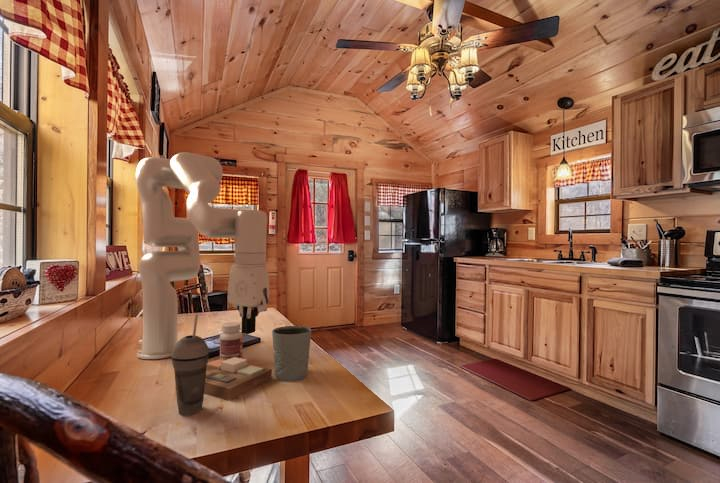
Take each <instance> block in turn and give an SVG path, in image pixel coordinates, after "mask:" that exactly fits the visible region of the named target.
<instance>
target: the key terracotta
mask: <svg viewBox="0 0 720 483" xmlns="http://www.w3.org/2000/svg"><path fill="white" fill-rule="evenodd" d="M222 361H225V360H222V359H220V358H219V359H216V360H213V361H210V362H207V366H206V367H209V368H213V369H217V370H218V369H220V368H221V362H222Z"/></svg>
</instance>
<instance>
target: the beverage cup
mask: <svg viewBox="0 0 720 483" xmlns="http://www.w3.org/2000/svg"><path fill="white" fill-rule="evenodd" d="M198 316H199V314H195V316H194V324H193V332H192V334H190V335H186V336H183V337H182V338H180V339H179V340H178V342H177V344H176V345H175V347H174V349H173V352H172V356H171V357H170V358H171V364H172V367H173V371H174V380H175V393H176V405H177V408H178V414H179V416H193V415H196V414H198V413H200V412H201V411H203V410H202V409H203V404H204V398H205V397H204V396H205V393H204V387H205V376H206V366H207V363H209V362H208V361H209V356H210V352H209V346H208V344H207V343H206V341H205V340H204V339H203V338H202V337H200V336H199V335H196V334H197V325H198V318H199V317H198ZM192 414H193V415H192Z"/></svg>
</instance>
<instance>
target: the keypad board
mask: <svg viewBox="0 0 720 483" xmlns="http://www.w3.org/2000/svg"><path fill="white" fill-rule="evenodd" d="M221 359H222V358H221ZM222 360H226V359H222ZM248 366H254V367H259V368H263V372H261V373H259V374H257V375H255V376H252V377H247V376H242V375H238V374H237V372H235V373H232V372H228V371H224V370H221V368H220V369H218V370H217V369H213V368H209V367H206V376H205V387H204V395H205V394H206V395H209V396H211V397H216V398H220V399H222V400H226V401H231V400H233V399H235V398H237V397H239V396H241V395H243V394H245V393H248V392H249V391H251V390H254V389H255V388H257V387H259V386H262V385H264V384H266V383H267V382H270V381H271V380H272V378H273V377H272V376H273V375H272V374H273V371H272V369H271V368H267V367H263V366H259V365H254V364H248V363H247V367H248Z"/></svg>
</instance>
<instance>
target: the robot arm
mask: <svg viewBox="0 0 720 483" xmlns="http://www.w3.org/2000/svg"><path fill="white" fill-rule="evenodd" d="M223 174H224V170H223V166H222V165H221V163H220V161H218V159H217V158H215V157H212V156H208V155H207V156H206V155H202V154H199V153H193V152H187V151H183V152H182V151H181V152H178V153H176V154H174V155H173V156H172V157H171V158H165V157H158V156H157V157H155V156H153V157H149V156H148V157H145V158H143V159H141V160H140V161H139V162H138V164H137V166H136V171H135V184H136V189H137V191H138V194H139V196H140V197H139V198H140V201H141V212H142V213H141V215H142V216H141V217H142V232H143V233H142V234H143V239H144V242H145V244H147V245H148V246H150V247H152V248H153V247H155V248H173V247H174V248H175V247H176V248H177V250H174V251H173V250H163V251H161V250H160V251H152V252H148V253H146V254H143V256H142V257H141V258H140V260H139V263H138V269H139V276H140V280H141V287H142V288H141V289H142V337H141V339H139V340H138V344H140V345H141V349H139V350H138V351H137V352H136V357H137V358H138V359H142V360H159V359H167V358H171V356H172V352H173V349H174V347H175V345H176V344H177V342H178V341H179V340H178V336H179V335H178V332H179V331H178V328H179V327H178V326H179V325H178V324H179V323H178V321H179V318H178V317H179V316H178V313H179V312H178V310H179V309H178V305H179V304H178V303H179V302H178V293H177V291H176V289H175V288H174V286H173V285H172V284H171V282H177V281H186V280H187V281H188V280H192V279H194V278H196V277H197V276H198V274H199V273H200V269H201V268H200V267H201V261H200V260H201V259H200V257H201V256H200V240H199V238H200V237H199V234H200V235H202V236H203V237H205V238H208V239H234V254H233V255H232V256H233V257H232V258H233V259H234V260H233V262H234V263H233V264H231V268H230V271H229V278H228V287H227V301H228V303H229V304H230V305H231V307H233V309H237V311H238V313H239V317H240V318H241V327H240V328H241V329H240V332H241V333H242V335H243V334H244V335H251V334H252V333H253V334H254V333H255V332H256V324H257V323H256V322H257V321H256V320H257V317H258V316H259V314H260V313H262V312H266V311H268V304H269V301H270V278H269V271H268V269H269V268H268V266H267V264H266V262H267V227H268V226H267V224H268V223H267V222H268V218H267V214H266V212H265V211H263V210H258V209H257V210H256V209H232V208H231V209H230V208H218V207H212V206H210V204H209V203H211V202H213V201H215V199H217V197H218V196H219V195H220V193H221V192H220V191H221V184H220V182H221V180H222V178H223ZM164 187H165V188H172V189H173V188H174V189H180V190H181V189H182V190H185V192H186V193H187V194H188V197H187V198H186V204H185V205H186V206H185V207H186V215H187V217H188V218H186V217H176V216H174V205H173V201H172V199H171V197H170V195H169V194H168V193H167V192H166V191H165V189H163V188H164Z"/></svg>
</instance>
